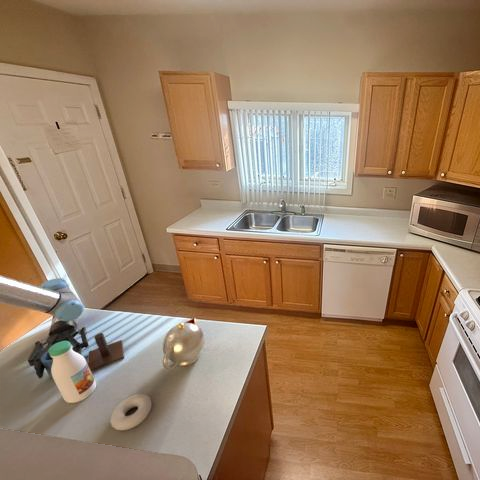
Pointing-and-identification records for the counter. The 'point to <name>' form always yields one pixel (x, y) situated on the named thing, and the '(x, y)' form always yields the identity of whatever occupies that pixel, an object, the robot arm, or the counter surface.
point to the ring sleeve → (47, 362)
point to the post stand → (105, 353)
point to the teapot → (183, 344)
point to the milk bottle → (71, 373)
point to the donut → (128, 422)
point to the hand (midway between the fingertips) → (57, 368)
